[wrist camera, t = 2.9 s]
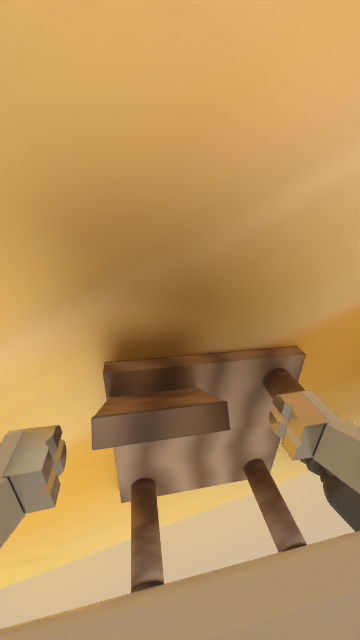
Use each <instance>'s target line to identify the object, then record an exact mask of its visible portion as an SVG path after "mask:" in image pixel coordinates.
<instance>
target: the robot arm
mask: <svg viewBox="0 0 360 640" xmlns="http://www.w3.org/2000/svg"><path fill="white" fill-rule="evenodd" d="M272 403H273V404H274V407H273V408H272V409H271V410H270V414H269V420H270V425H271V427H272V429H273V431H274V433H275V434H276V435H277V436H279V437H280V438H282V439H283V440H282V445H283V446H284V448H285V450H286V451H287V453H288V454H289V456H290V457H291V459H292V460H299V459H305V458H311V457H313V459H314V460H316V461H317V462H318V463H319V464H321V465H322V466H323V467H325V468H326V469H327V470H329V471H330V472H331V473H333V474H334V475H335V476H337V477H338V478H339V479H340V480H342V481H343V482H344V483H346V484H347V485H348V486H350V487H351V488H352V489H354V490H355V491H356V492H358V493H359V494H360V427H359V426H357V425H355V424H353V423H351V422H349V421H346V420H344V421H342V420H341V419H340V418H339V417H338V416H337V415H336V414H335V413H334V412H333V411H332V410H331V409H330V408H329V407H328V406H327V405H326V404H325V403H324V402H323V401H322V400H321V399H320V398H319V397H318V396H317V395H316V394H315V393H314V392H313V391H311V390H307V391H300V392H292V393H286V394H279V395H276V396H275V397H274V398H273V402H272ZM61 434H62V430H61V427H60V426H59V425H55V426H46V427H37V428H28V429H22V430H13V431H9V432H8V433H7V434H6V435H5V436H4V438H3V440H2V442H1V443H0V548H1V547H2V546H3V544H4V543H5V542H6V540H7V539H8V538H9V536H10V535H11V534H12V532H13V531H14V530H15V528H16V527H17V526H18V524H19V523H20V522H21V520H22V519H23V518H24V516H25V515H24V514H27V513H31V512H35V511H40V510H44V509H49V508H53V507H55V505H56V501H57V496H58V492H59V488H60V482H59V479H58V477H59V476H60V475H61V473H62V472H63V471H64V467H65V463H66V445H65V441H63V440H62V439H60V438H61ZM0 640H360V531H357V532H353V533H349V534H346V535H342V536H339V537H335V538H331V539H328V540H324V541H320V542H317V543H313V544H309V545H306V546H302V547H298V548H295V549H291V550H287V551H284V552H280V553H276V554H273V555H269V556H266V557H262V558H258V559H254V560H251V561H247V562H244V563H240V564H236V565H233V566H229V567H225V568H222V569H218V570H214V571H211V572H207V573H203V574H200V575H196V576H193V577H189V578H185V579H182V580H178V581H174V582H171V583H167V584H163V585H160V586H156V587H152V588H149V589H145V590H141V591H138V592H134V593H130V594H127V595H123V596H119V597H116V598H112V599H108V600H105V601H101V602H98V603H94V604H90V605H87V606H83V607H80V608H76V609H72V610H69V611H65V612H61V613H57V614H54V615H51V616H47V617H43V618H39V619H36V620H32V621H28V622H25V623H21V624H17V625H14V626H10V627H6V628H3V629H0Z"/></svg>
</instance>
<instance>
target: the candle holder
mask: <svg viewBox="0 0 360 640" xmlns="http://www.w3.org/2000/svg"><path fill="white" fill-rule="evenodd" d="M300 460H301V462H303V463H305V464H306V465H307V468H308V470H309V471H311V472H313V473H315V474H317V475H319V476H320V479H321V481H322V482H323V488H324V493H325V496H326V498H327V500H328V502H329V503H330V505H331V506H332V507H333V508H334V509H335V510H336V511H337V513H338V514H339V515H340V516H341V517H342V518H343V519H344V520H345V521H346V522H347V523H348V524H349V525H350V526H351V527H352V528H353V530H354V531H355V532H357V531H360V494H359V493H358V492H356V491H355V490H354V489H352V488H351V487H350V486H348V485H347V484H346V483H344V482H343V481H342V480H340V479H339V478H338V477H337V476H330V475H328V474H327V473H326V471H325V470H324V468H323V467H322V465H321V464H319V463H318V462H317V461H316V460H314V459H313V457H311V458H305V459H300Z"/></svg>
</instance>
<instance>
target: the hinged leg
mask: <svg viewBox="0 0 360 640" xmlns="http://www.w3.org/2000/svg"><path fill="white" fill-rule="evenodd" d="M91 424H92V450H97V449H104V448H111V447H118V446H125V445H131V444H138V443H145V442H152V441H159V440H166V439H173V438H179V437H186V436H193V435H200V434H207V433H214V432H221V431H228V430H230V421H229V412H228V403H227V401H223V400H221V399H219V398H217V397H215V396H213V395H211V394H208V393H206V392H204V391H202V390H200V389H199V388H190V389H181V390H172V391H163V392H154V393H145V394H136V395H127V396H117V397H108V398H107V401H106V403H105V404H104V405H103V406H102V407H101V409H100V410H99V411H98V412H97V414H96V415H95V416H94V417H92V418H91Z"/></svg>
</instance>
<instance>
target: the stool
mask: <svg viewBox="0 0 360 640" xmlns="http://www.w3.org/2000/svg"><path fill="white" fill-rule="evenodd" d="M305 356H306V354H305V353H304V352H302V351H301V350H300V349H299V348H298V347H297V346H295V347H283V348H271V349H259V350H247V351H236V352H224V353H212V354H200V355H188V356H176V357H165V358H153V359H141V360H129V361H117V362H105V365H104V371H103V376H104V383H105V390H106V397H107V398H108V397H117V396H127V395H136V394H145V393H154V392H163V391H172V390H181V389H190V388H199V389H200V390H202V391H204V392H206V393H208V394H211V395H213V396H215V397H217V398H219V399H221V400H223V401H227V403H228V412H229V421H230V430H228V431H221V432H214V433H207V434H200V435H193V436H186V437H179V438H173V439H166V440H159V441H152V442H145V443H138V444H131V445H125V446H118V447H114V454H115V461H116V468H117V475H118V482H119V489H120V496H121V503H124V502H129V501H131V587H132V588H131V593H134V592H138V591H141V590H145V589H149V588H152V587H156V586H160V585H163V584H164V578H163V566H162V555H161V543H160V532H159V521H158V509H157V498H156V496H162V495H167V494H172V493H178V492H183V491H188V490H194V489H199V488H204V487H210V486H215V485H220V484H226V483H231V482H236V481H242V480H247V479H248V481H249V484H250V486H251V488H252V491H253V493H254V495H255V498H256V500H257V502H258V505H259V507H260V510H261V512H262V514H263V517H264V519H265V521H266V524H267V526H268V528H269V531H270V533H271V535H272V538H273V540H274V543H275V545H276V547H277V550H278V552H279V553H280V552H284V551H287V550H291V549H295V548H298V547H302V546H306V545H307V544H306V542H305V540H304V538H303V536H302V534H301V533H300V530H299V529H298V527H297V525H296V523H295V521H294V519H293V517H292V515H291V513H290V511H289V509H288V507H287V505H286V503H285V502H284V500H283V498H282V496H281V494H280V492H279V490H278V488H277V486H276V484H275V482H274V480H273V478H272V476H271V474H270V471H271V468H272V465H273V461H274V458H275V455H276V451H277V448H278V445H279V442H280V437H279V436H277V435H276V434H275V433H274V431H273V429H272V427H271V425H270V420H269V414H270V410H271V409H272V408H273V407H274V404H273V403H272V402H273V398H274V397H275V396H276V395H279V394H286V393H292V392H300V391H305V389H304V388H303V387H302V386H301V385H300V384H299V383H298V379H299V376H300V373H301V369H302V366H303V363H304V360H305ZM322 467H323V466H322ZM323 468H324V470H325V471H326V473H327V474H328V475H330V476H335V475H334V474H333V473H331V472H330V471H329V470H327V469H326V468H325V467H323Z"/></svg>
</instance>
